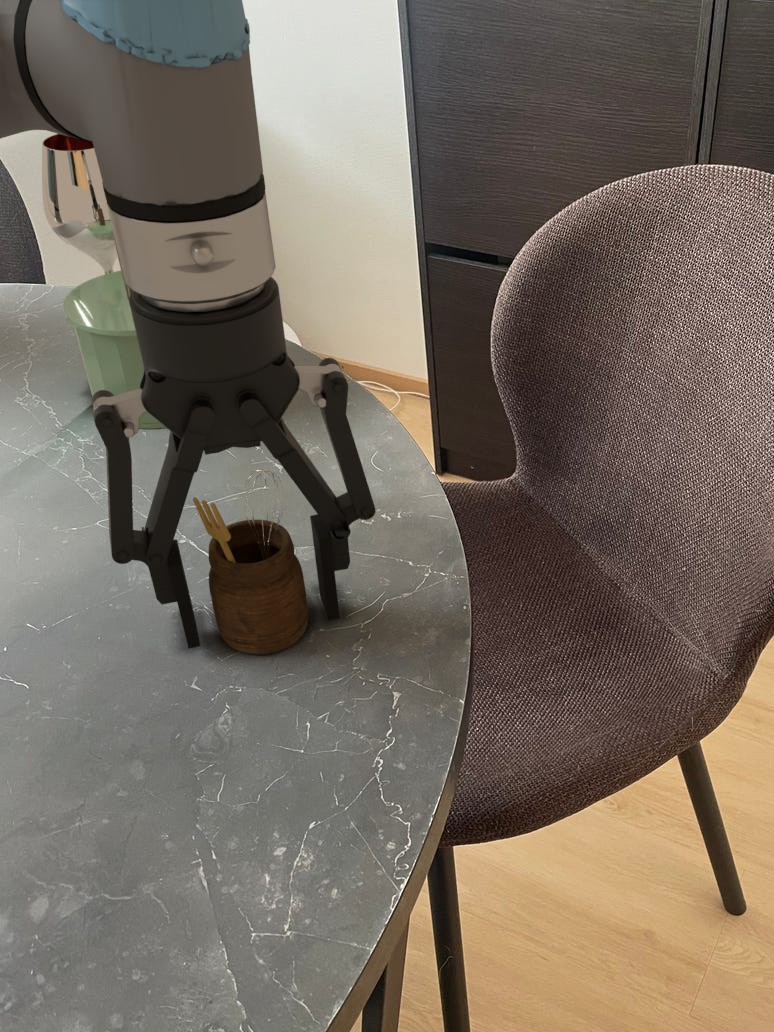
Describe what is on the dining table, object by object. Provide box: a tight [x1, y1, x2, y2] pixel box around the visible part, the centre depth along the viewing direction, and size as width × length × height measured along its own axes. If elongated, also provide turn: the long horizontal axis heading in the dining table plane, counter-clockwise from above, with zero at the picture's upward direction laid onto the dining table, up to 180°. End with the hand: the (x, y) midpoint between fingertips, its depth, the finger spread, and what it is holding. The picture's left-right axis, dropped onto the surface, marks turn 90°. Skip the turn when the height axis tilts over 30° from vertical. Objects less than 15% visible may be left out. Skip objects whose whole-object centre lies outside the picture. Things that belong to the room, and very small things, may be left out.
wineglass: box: [41, 133, 118, 275], centre depth 93 cm, size 8×8×18 cm
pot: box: [72, 325, 166, 430], centre depth 89 cm, size 11×11×8 cm
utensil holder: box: [192, 468, 309, 655], centre depth 65 cm, size 6×6×12 cm
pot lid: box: [62, 237, 137, 336], centre depth 84 cm, size 12×12×6 cm
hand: (261, 619), depth 68 cm, fingers open, 8 cm apart
